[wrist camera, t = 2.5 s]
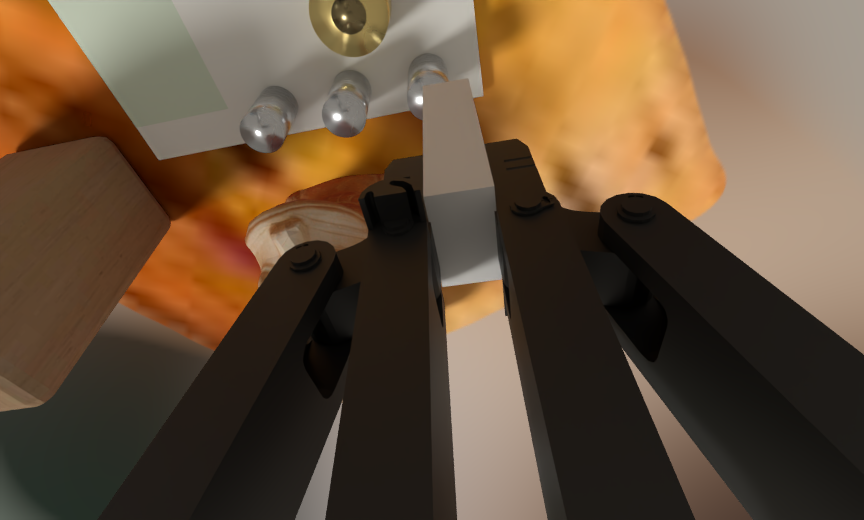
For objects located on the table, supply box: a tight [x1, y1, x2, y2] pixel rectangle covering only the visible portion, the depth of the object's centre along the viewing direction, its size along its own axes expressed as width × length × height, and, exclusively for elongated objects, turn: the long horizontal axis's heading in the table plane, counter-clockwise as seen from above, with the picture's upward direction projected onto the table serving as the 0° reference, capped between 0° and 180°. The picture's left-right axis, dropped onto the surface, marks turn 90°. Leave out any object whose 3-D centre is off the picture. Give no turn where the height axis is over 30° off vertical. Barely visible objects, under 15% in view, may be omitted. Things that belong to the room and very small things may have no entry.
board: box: [48, 0, 484, 160], centre depth 30 cm, size 16×28×1 cm, turn 101°
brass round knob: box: [309, 0, 392, 57], centre depth 28 cm, size 5×5×3 cm
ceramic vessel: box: [245, 174, 384, 403], centre depth 40 cm, size 14×26×15 cm, turn 13°
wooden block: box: [0, 136, 171, 411], centre depth 32 cm, size 10×10×20 cm
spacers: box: [240, 53, 449, 153], centre depth 28 cm, size 14×17×5 cm
